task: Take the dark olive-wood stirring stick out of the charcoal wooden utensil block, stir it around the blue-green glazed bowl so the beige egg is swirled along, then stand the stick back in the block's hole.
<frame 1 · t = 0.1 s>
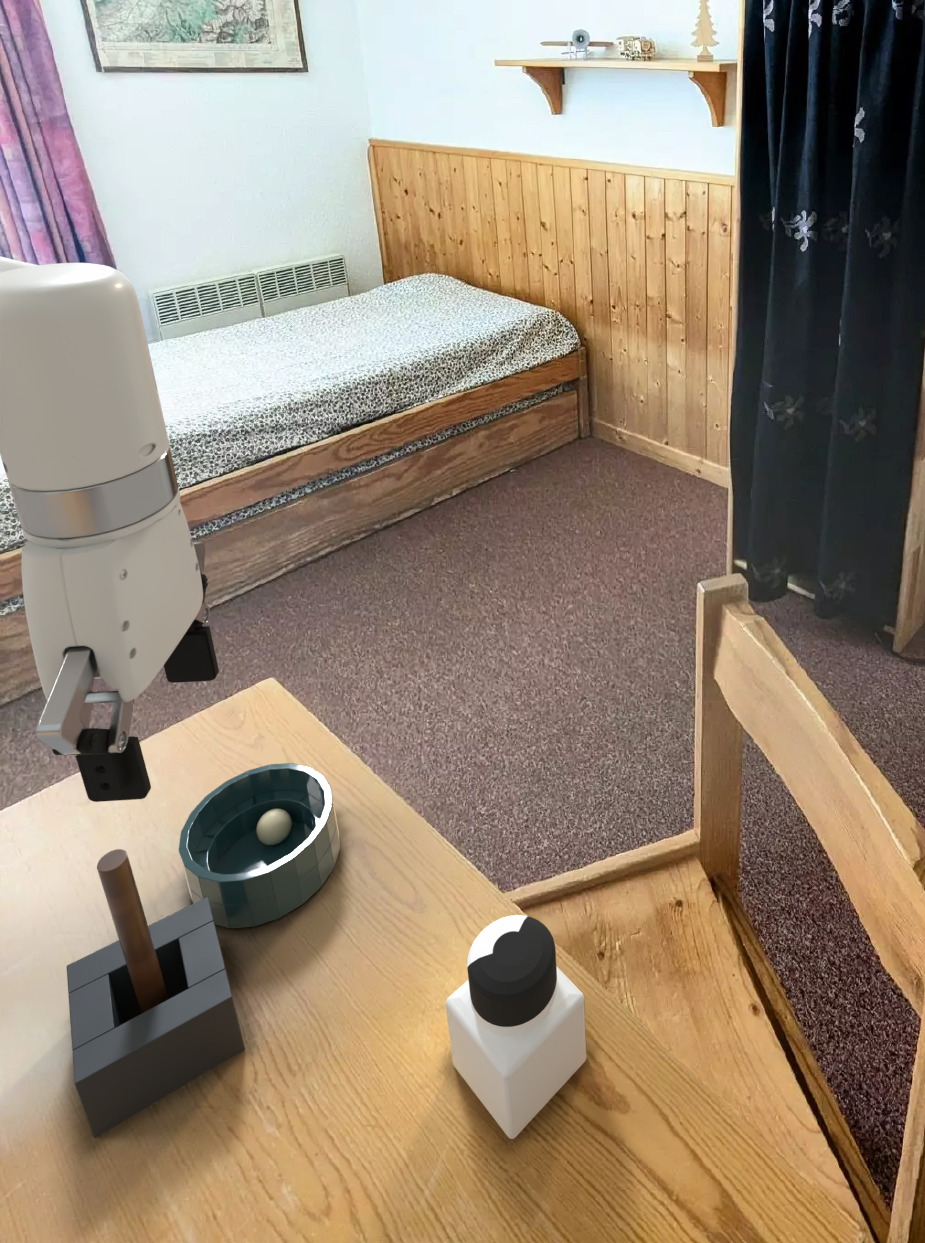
hand: (160, 732, 54), 30 cm above the table, tool pointing down, fingers open, 9 cm apart
holder: (164, 1035, 65), on the table
medicine bottle: (520, 1064, 63), on the table
spurtle: (139, 952, 62), in the holder
beige egg: (274, 826, 80), point 2 cm above the table, touching bowl
bowl: (268, 867, 78), on the table
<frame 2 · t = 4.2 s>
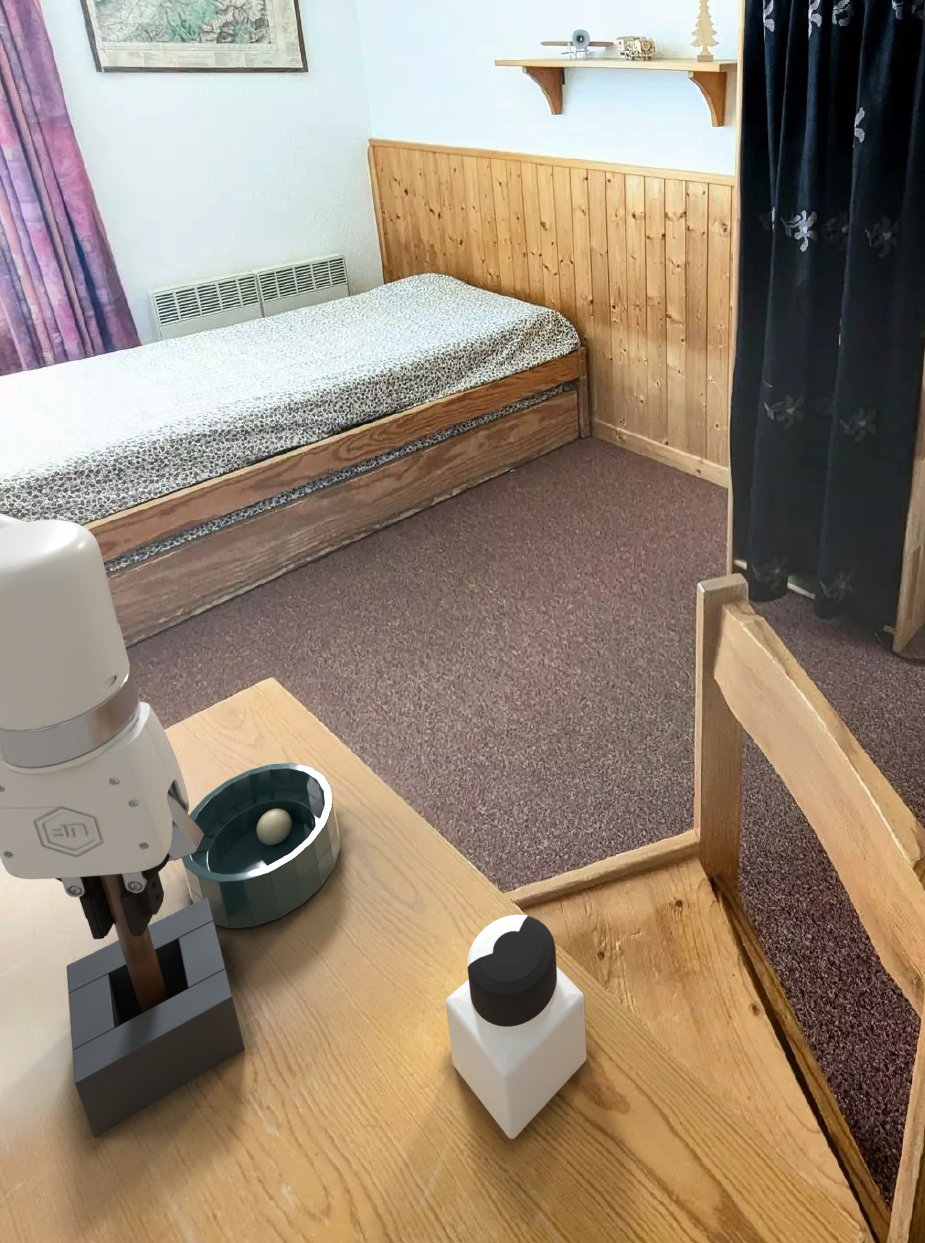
hand: (128, 917, 61), 13 cm above the table, tool pointing down, fingers closed on spurtle, 1 cm apart
spurtle: (139, 952, 62), in the holder, touching gripper
everything else where it was.
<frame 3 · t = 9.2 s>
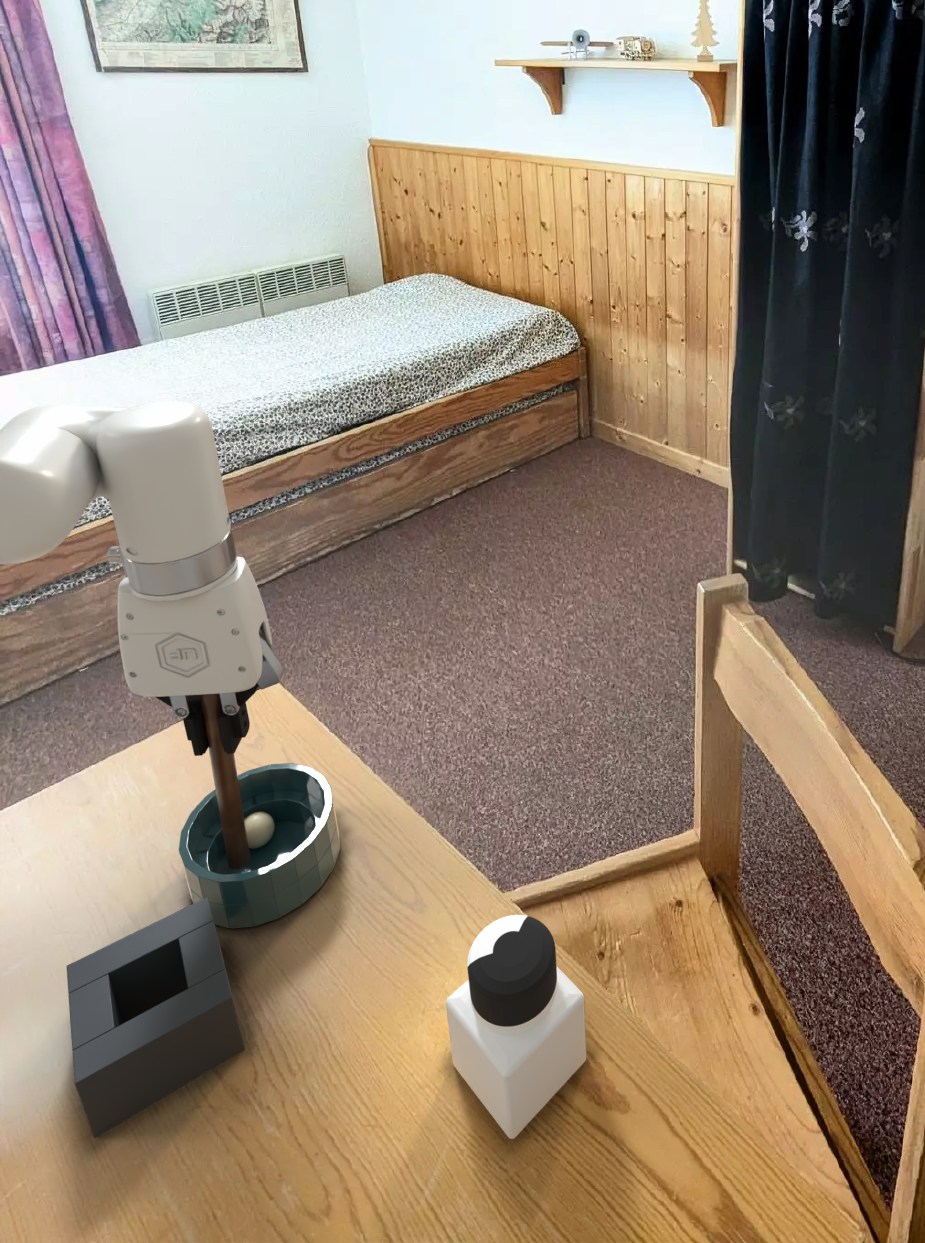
hand: (221, 741, 74), 14 cm above the table, tool pointing down, fingers closed on spurtle, 1 cm apart
spurtle: (225, 777, 74), point 11 cm above the table, touching gripper
beige egg: (256, 830, 80), point 2 cm above the table, tilted 14°, touching bowl
everything else where it was.
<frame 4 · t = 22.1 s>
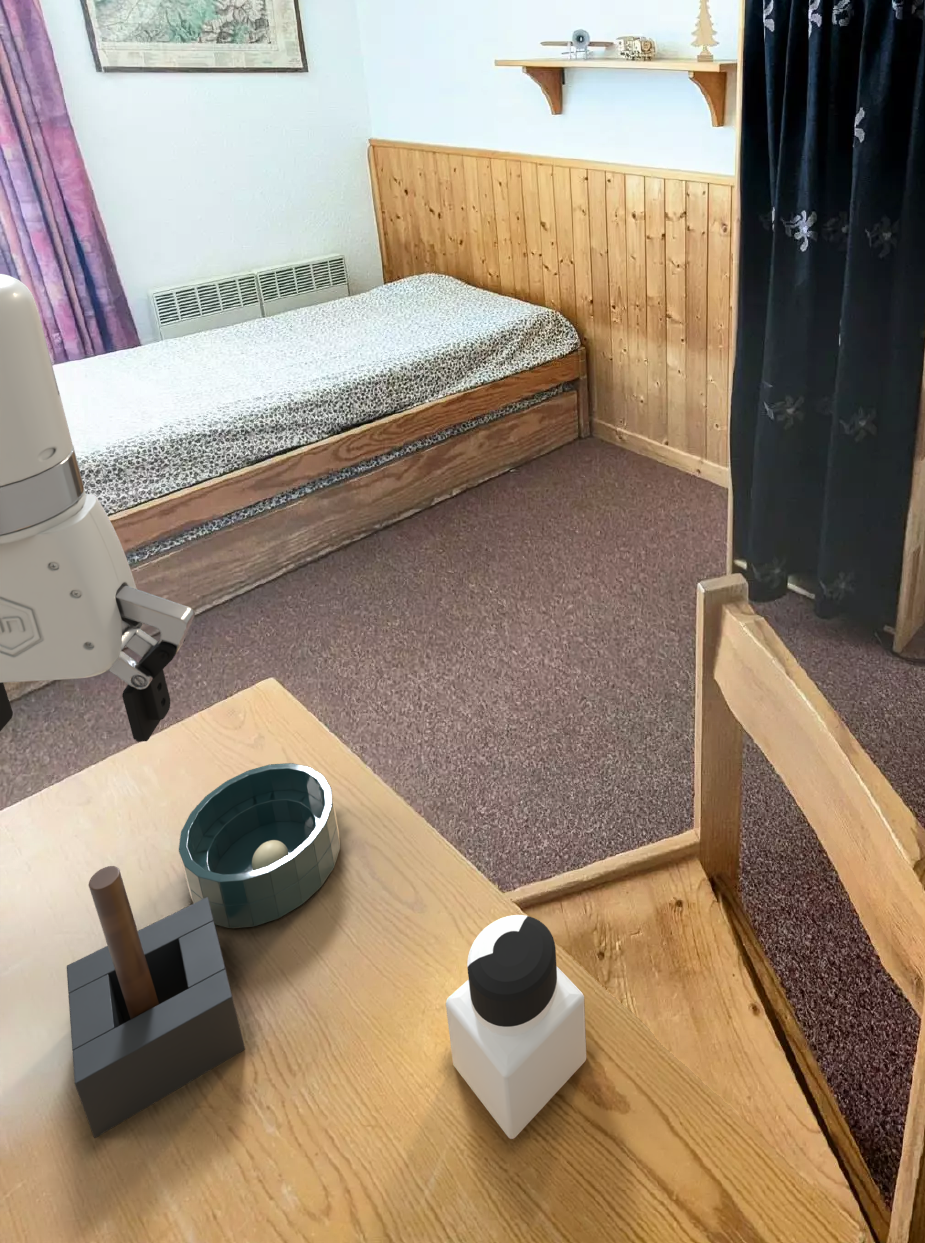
hand: (73, 729, 55), 29 cm above the table, tool pointing down, fingers open, 9 cm apart
spurtle: (132, 970, 61), in the holder
beige egg: (270, 859, 77), point 2 cm above the table, tilted 144°, touching bowl
everything else where it was.
at the end: beige egg moved 3.6 cm from its start; beige egg inside the target area in the bowl (1.3 cm from its centre), point 2.1 cm above the bowl's base; spurtle 1.3 cm off-centre in the holder, point 9.0 cm above the holder's base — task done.
